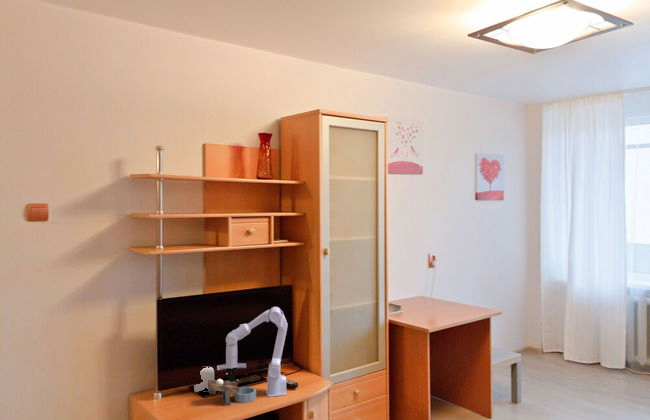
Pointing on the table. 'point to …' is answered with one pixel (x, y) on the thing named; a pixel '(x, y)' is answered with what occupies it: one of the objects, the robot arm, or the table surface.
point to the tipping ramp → (222, 386)
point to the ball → (219, 382)
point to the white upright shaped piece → (204, 379)
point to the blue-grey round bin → (245, 395)
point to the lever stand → (226, 397)
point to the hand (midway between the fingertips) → (231, 382)
